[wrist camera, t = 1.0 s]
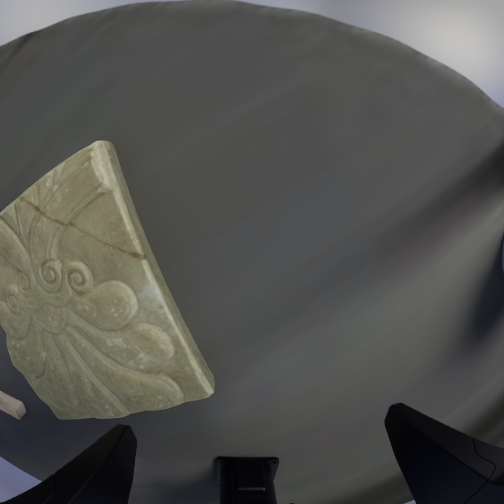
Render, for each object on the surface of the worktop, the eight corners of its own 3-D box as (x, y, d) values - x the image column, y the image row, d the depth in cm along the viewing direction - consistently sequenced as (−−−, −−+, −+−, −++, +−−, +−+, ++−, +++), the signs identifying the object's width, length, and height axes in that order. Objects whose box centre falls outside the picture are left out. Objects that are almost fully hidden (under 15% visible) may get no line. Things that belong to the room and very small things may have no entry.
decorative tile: (117, 141, 17) (96, 131, 14) (219, 376, 21) (217, 404, 18) (-17, 237, 17) (-40, 243, 14) (67, 407, 21) (55, 426, 18)
